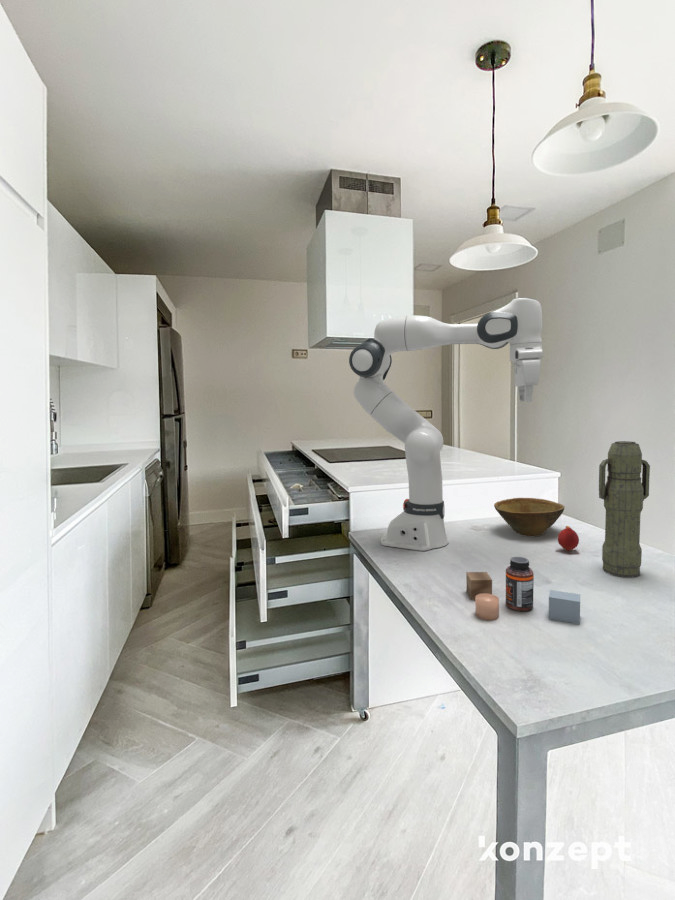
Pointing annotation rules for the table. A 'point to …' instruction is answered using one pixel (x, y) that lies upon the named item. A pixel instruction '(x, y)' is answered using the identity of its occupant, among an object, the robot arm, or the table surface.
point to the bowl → (529, 514)
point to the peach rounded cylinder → (487, 606)
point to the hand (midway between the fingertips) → (525, 401)
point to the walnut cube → (478, 583)
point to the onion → (568, 539)
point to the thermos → (623, 507)
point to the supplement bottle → (519, 584)
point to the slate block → (564, 606)
